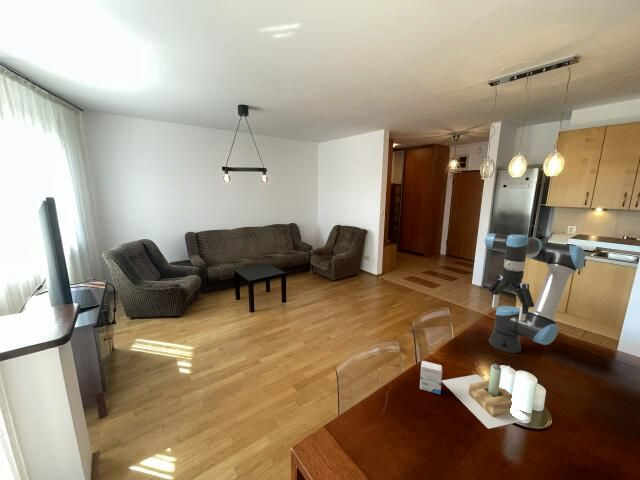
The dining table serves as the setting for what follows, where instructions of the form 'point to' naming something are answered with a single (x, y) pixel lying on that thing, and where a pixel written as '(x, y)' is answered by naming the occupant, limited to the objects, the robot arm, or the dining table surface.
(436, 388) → the ink box
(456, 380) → the grey mat
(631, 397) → the dining table surface
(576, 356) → the dining table surface
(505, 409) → the wooden square holder
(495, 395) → the pale green cylinder
